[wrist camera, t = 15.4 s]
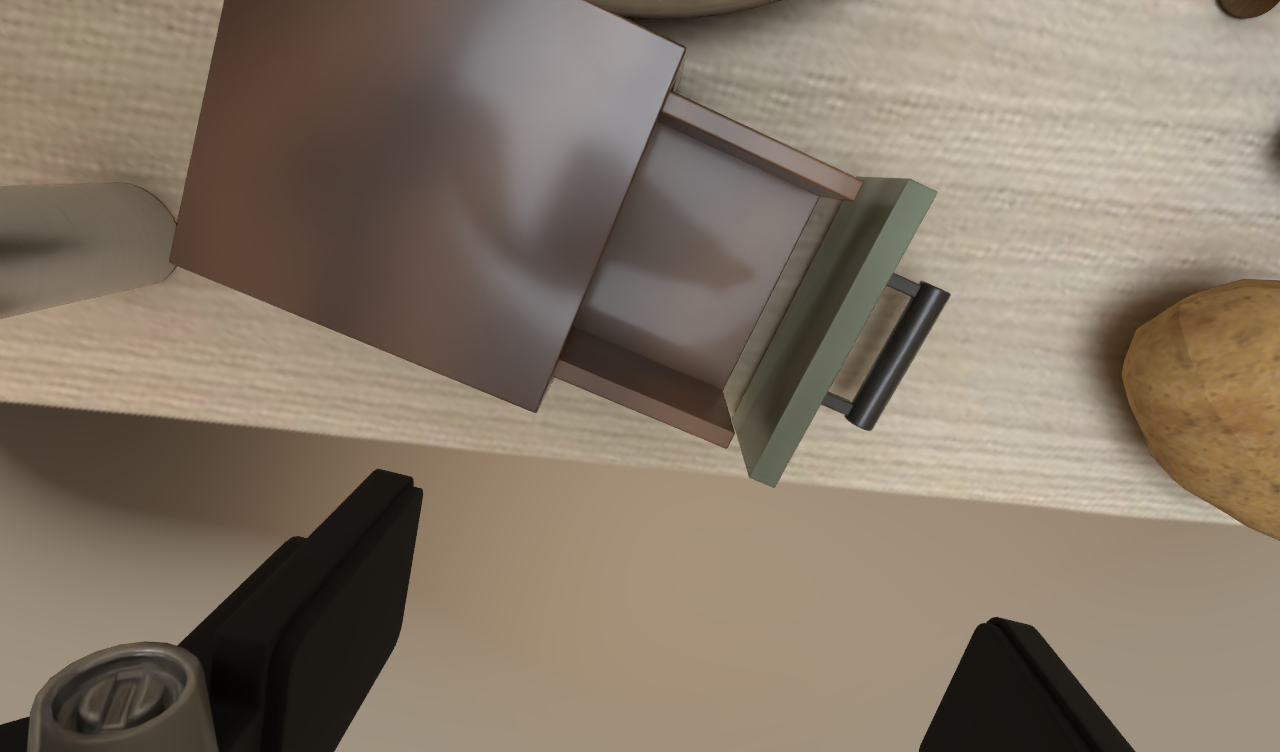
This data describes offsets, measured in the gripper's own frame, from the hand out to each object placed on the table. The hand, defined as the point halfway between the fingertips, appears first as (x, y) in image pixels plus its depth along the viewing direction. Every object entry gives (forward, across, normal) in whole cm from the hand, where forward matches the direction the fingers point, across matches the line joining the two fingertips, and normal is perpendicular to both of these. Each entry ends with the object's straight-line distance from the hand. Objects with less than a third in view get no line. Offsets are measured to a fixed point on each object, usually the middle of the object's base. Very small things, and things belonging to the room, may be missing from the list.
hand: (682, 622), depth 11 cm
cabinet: (+23, +11, -5) cm, 26 cm away
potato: (+23, -28, -5) cm, 37 cm away
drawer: (+23, -2, -3) cm, 23 cm away
